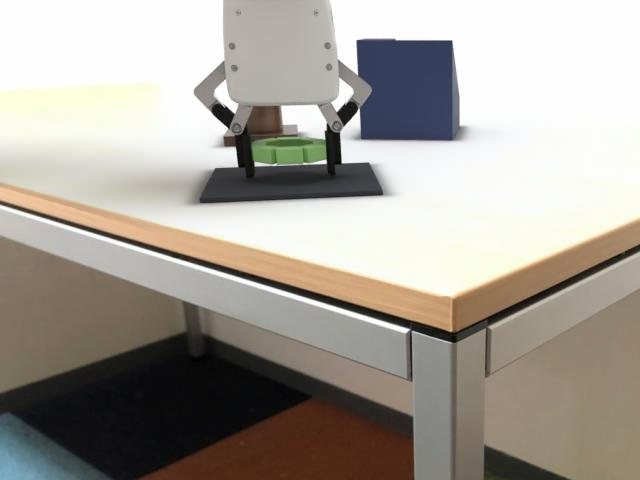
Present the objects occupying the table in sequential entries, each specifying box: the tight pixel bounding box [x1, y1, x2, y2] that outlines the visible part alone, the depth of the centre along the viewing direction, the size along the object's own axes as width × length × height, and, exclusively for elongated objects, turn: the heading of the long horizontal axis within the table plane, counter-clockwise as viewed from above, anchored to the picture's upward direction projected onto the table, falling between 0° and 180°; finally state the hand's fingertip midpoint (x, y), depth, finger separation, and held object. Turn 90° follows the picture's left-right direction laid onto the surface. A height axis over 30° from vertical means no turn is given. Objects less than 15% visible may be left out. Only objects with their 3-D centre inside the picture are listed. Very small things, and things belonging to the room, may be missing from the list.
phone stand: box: [355, 38, 461, 141], centre depth 100 cm, size 12×12×12 cm
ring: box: [251, 136, 327, 166], centre depth 71 cm, size 7×7×1 cm
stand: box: [222, 103, 299, 147], centre depth 96 cm, size 9×9×8 cm
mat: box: [199, 161, 384, 203], centre depth 72 cm, size 16×14×1 cm
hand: (291, 172), depth 72 cm, fingers closed on ring, 7 cm apart
